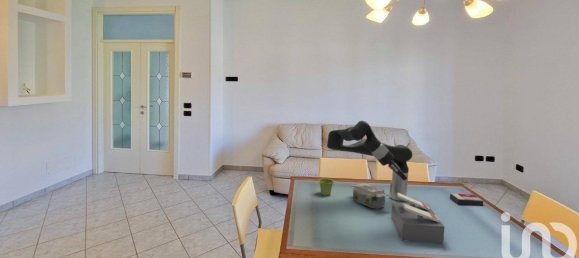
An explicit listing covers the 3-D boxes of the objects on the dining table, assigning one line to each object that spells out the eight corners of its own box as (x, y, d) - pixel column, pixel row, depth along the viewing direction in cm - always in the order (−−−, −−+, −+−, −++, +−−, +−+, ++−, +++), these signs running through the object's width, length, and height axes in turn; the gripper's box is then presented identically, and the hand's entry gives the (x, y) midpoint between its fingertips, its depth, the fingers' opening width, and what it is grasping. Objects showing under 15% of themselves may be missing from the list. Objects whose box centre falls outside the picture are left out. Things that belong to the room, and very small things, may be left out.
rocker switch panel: (391, 216, 183) (392, 197, 182) (426, 218, 181) (427, 200, 179) (401, 240, 155) (403, 218, 154) (443, 243, 153) (445, 221, 152)
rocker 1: (396, 194, 177) (397, 192, 177) (425, 206, 176) (426, 204, 176) (399, 198, 172) (399, 196, 171) (429, 210, 171) (430, 208, 170)
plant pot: (334, 192, 219) (335, 179, 218) (331, 197, 211) (332, 183, 209) (320, 190, 222) (320, 178, 221) (316, 195, 214) (317, 182, 212)
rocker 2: (402, 205, 163) (403, 203, 163) (434, 217, 162) (435, 215, 161) (405, 209, 157) (405, 207, 157) (438, 222, 156) (439, 220, 156)
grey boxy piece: (376, 212, 186) (376, 194, 185) (346, 199, 212) (346, 183, 211) (392, 209, 191) (393, 192, 190) (361, 196, 217) (362, 181, 216)
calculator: (483, 200, 202) (458, 198, 202) (482, 207, 203) (457, 205, 203) (474, 194, 213) (450, 192, 213) (473, 200, 214) (449, 198, 214)
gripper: (374, 156, 180) (397, 180, 180) (378, 162, 167) (402, 188, 167) (385, 146, 178) (408, 171, 179) (390, 152, 165) (414, 178, 166)
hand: (405, 179), depth 173 cm, fingers closed
